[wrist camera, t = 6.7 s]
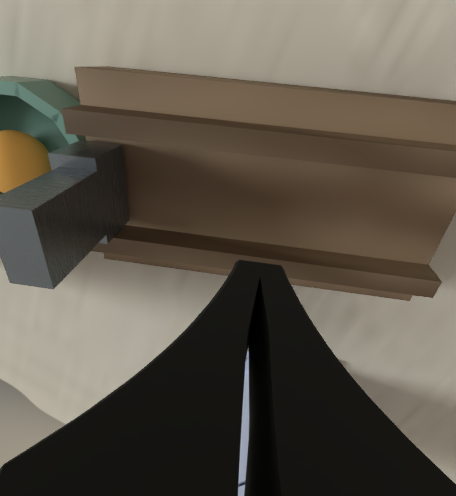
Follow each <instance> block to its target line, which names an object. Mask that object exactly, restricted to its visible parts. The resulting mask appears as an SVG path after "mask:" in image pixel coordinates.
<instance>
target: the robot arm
mask: <svg viewBox="0 0 456 496" xmlns="http://www.w3.org/2000/svg"><path fill="white" fill-rule="evenodd" d="M248 345H249V348H248ZM0 496H456V484H455V483H454V482H453V481H452V480H450V479H449V478H448V477H447V476H446V475H445V474H444V473H443V472H442V471H441V470H440V469H439V468H438V467H437V466H436V465H435V464H434V463H433V462H432V461H431V460H430V459H429V458H428V457H427V456H425V455H424V454H423V453H422V452H421V451H420V450H419V449H418V448H417V447H416V446H415V445H414V444H413V443H412V442H411V441H410V440H409V439H408V438H407V437H406V436H405V435H404V434H403V433H402V432H401V431H400V430H399V429H398V428H397V426H396V425H395V424H394V423H393V422H392V421H391V420H390V419H389V418H388V417H387V416H386V415H385V414H384V413H383V412H382V410H381V409H380V408H379V407H378V406H377V405H376V404H375V403H374V402H373V401H372V400H371V399H370V398H369V397H368V395H367V394H366V393H365V392H364V391H363V390H362V388H361V387H360V386H359V385H358V384H357V383H356V381H355V380H354V379H353V378H352V377H351V375H350V374H349V373H348V372H347V370H346V369H345V368H344V367H343V365H342V364H341V363H340V362H339V360H338V359H337V358H336V356H335V355H334V354H333V352H332V351H331V349H330V348H329V347H328V345H327V344H326V342H325V341H324V339H323V338H322V336H321V335H320V334H319V332H318V331H317V329H316V328H315V326H314V324H313V323H312V321H311V320H310V318H309V316H308V315H307V313H306V311H305V310H304V308H303V306H302V305H301V303H300V301H299V299H298V297H297V296H296V294H295V292H294V290H293V288H292V286H291V284H290V282H289V280H288V278H287V275H286V273H285V271H284V269H283V267H282V266H281V265H276V264H268V263H261V262H253V261H246V260H238V261H237V262H235V264H234V267H233V269H232V271H231V273H230V274H229V276H228V278H227V279H226V281H225V282H224V284H223V285H222V287H221V288H220V289H219V291H218V292H217V293H216V295H215V296H214V297H213V299H212V300H211V301H210V303H209V304H208V305H207V306H206V307H205V309H204V310H203V311H202V312H201V313H200V314H199V315H198V317H197V318H196V319H195V320H194V321H193V322H192V323H191V325H190V326H189V327H188V328H187V329H186V330H185V331H184V332H183V333H182V334H181V335H180V336H179V337H178V338H177V339H176V340H175V341H174V342H173V343H172V344H170V345H169V346H168V347H167V348H166V349H165V350H164V351H163V352H162V353H161V354H159V355H158V356H157V357H156V358H155V359H154V360H152V361H151V362H150V363H149V364H148V365H147V366H146V367H144V368H143V369H142V370H141V371H139V372H138V373H137V374H136V375H135V376H133V377H132V378H131V379H129V380H128V381H127V382H125V383H124V384H123V385H121V386H120V387H119V388H117V389H116V390H115V391H113V392H112V393H110V394H109V395H108V396H106V397H105V398H104V399H102V400H101V401H100V402H98V403H97V404H96V405H94V406H93V407H91V408H90V409H89V410H87V411H86V412H84V413H83V414H81V415H80V416H78V417H77V418H76V419H74V420H73V421H71V422H69V423H68V424H66V425H65V426H63V427H62V428H60V429H58V430H57V431H55V432H54V433H52V434H51V435H49V436H48V437H46V438H44V439H43V440H41V441H40V442H38V443H37V444H35V445H34V446H32V447H30V448H29V449H27V450H26V451H24V452H23V453H21V454H20V455H18V456H17V457H15V458H13V459H11V460H10V461H8V462H7V463H5V464H4V465H3V466H2V467H1V468H0Z"/></svg>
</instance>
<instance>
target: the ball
mask: <svg viewBox="0 0 456 496" xmlns="http://www.w3.org/2000/svg"><path fill="white" fill-rule="evenodd" d="M48 153H49V151H48V150H47V148H46V147H45V146H44V145H43V144H42V143H41V142H40V141H39V140H38V139H36V138H35V137H33V136H31V135H29V134H27V133H24V132H21V131H16V130H2V131H0V192H2V193H5V192H7V191H9V190H12V189H14V188H16V187H18V186H20V185H22V184H24V183H26V182H28V181H30V180H32V179H34V178H37V177H39V176H41V175H43V174H45V173H47V172H49V171H51V166H50V161H49V157H48Z"/></svg>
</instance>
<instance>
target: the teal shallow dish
mask: <svg viewBox="0 0 456 496" xmlns="http://www.w3.org/2000/svg"><path fill="white" fill-rule="evenodd" d="M77 105H80V101H79V100H77V99H76V98H75V97H73V96H72V95H70V94H69V93H67V92H66V91H64V90H63V89H62V88H60V87H59V86H57V85H56V84H54V83H53V82H52V81H50V80H44V79H34V78H25V77H15V76H1V77H0V131H2V130H16V131H21V132H24V133H27V134H29V135H31V136H33V137H35V138H36V139H38V140H39V141H40V142H41V143H42V144H43V145H44V146H45V147H46V148H47V150H48V151H49V152H52V151H54V150H57V149H59V148H62V147H64V146H67V145H69V144H72V143H74V142H77V141H80V140H86V137H85V136H82V135H73V134H66V131H65V125H64V120H63V115H62V108H67V107H72V106H77ZM1 194H3V193H2V192H0V195H1Z"/></svg>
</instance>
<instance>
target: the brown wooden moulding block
mask: <svg viewBox="0 0 456 496" xmlns="http://www.w3.org/2000/svg"><path fill="white" fill-rule="evenodd" d="M75 73H76V79H77V86H78V92H79V99H80V105H77V106H72V107H67V108H62V115H63V120H64V125H65V131H66V134H73V135H82V136H85V137H86V140H89V141H97V142H106V143H115V144H122V148H123V158H124V168H125V179H126V189H127V199H128V209H129V221H128V222H127V224H126V225H125V226H124V227H123V228H122V229H121V230H120V231H119V232H118V233H117V234H116V236H115V237H114V238H113V239H112V240H111V241H110V242H109V243H108V244H103V243H98V244H97V245H96V246H95V247H94V248H93V249H92V250H91V251H97V252H104V258H105V259H112V260H119V261H127V262H134V263H141V264H148V265H155V266H163V267H170V268H177V269H184V270H191V271H198V272H206V273H213V274H220V275H227V276H229V274H230V273H231V271H232V269H233V267H234V264H235V262H237V261H238V260H246V261H253V262H261V263H268V264H276V265H281V266H282V267H283V269H284V271H285V273H286V275H287V278H288V280H289V282H290V284H292V285H299V286H306V287H314V288H321V289H328V290H335V291H342V292H350V293H357V294H364V295H371V296H378V297H386V298H393V299H400V300H407V301H410V299H411V297H412V295H416V296H423V297H431V298H433V297H434V295H435V293H436V292H437V290H438V288H439V286H440V284H441V283H442V282H441V280H440V279H439V278H438V276H437V275H436V274H435V273H434V271H433V270H432V269H431V268H430V266H429V265H428V264H429V262H430V260H431V259H432V257H433V255H434V253H435V251H436V249H437V247H438V245H439V243H440V241H441V239H442V237H443V235H444V233H445V231H446V229H447V227H448V226H449V224H450V222H451V220H452V218H453V216H454V214H455V212H456V101H449V100H439V99H429V98H419V97H409V96H399V95H389V94H379V93H369V92H358V91H348V90H338V89H328V88H318V87H308V86H298V85H288V84H278V83H267V82H257V81H247V80H237V79H227V78H217V77H207V76H197V75H187V74H176V73H166V72H156V71H146V70H136V69H126V68H116V67H75Z"/></svg>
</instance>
